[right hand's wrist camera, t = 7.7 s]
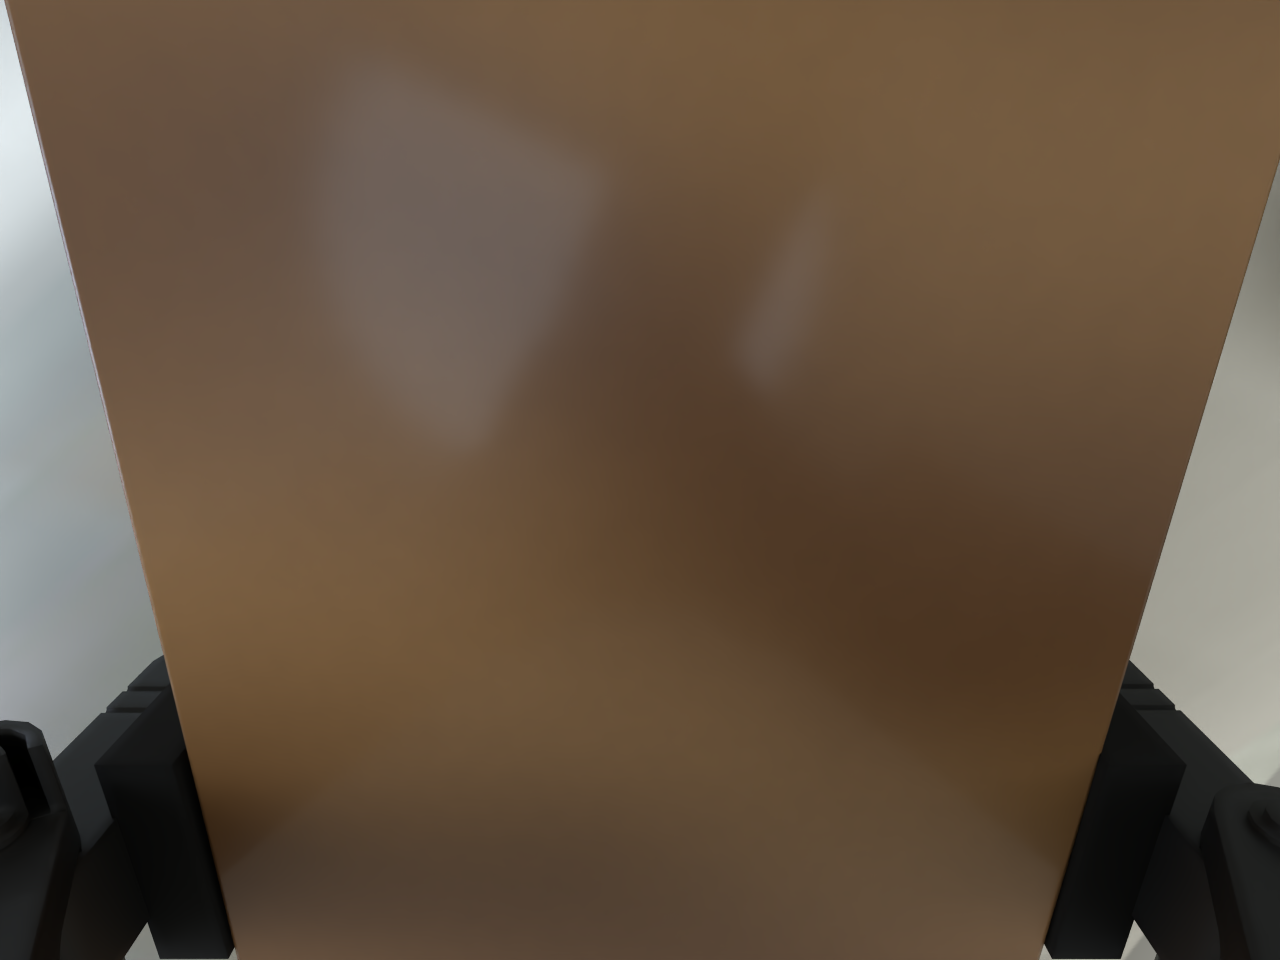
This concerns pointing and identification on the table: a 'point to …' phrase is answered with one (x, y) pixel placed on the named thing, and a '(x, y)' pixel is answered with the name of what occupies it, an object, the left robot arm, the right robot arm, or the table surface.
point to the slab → (650, 442)
